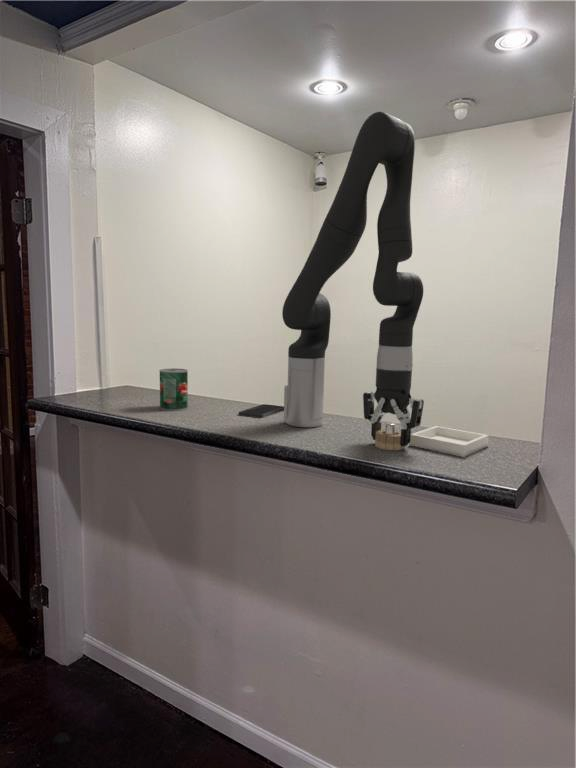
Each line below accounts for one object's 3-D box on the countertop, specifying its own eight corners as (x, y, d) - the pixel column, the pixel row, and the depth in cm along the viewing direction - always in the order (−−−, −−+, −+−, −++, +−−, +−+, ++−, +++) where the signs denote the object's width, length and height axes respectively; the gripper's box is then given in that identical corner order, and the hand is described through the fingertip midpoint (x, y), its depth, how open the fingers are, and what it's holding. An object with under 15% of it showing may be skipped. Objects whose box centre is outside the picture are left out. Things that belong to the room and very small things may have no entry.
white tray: (409, 445, 119) (409, 434, 119) (435, 436, 128) (436, 425, 128) (463, 457, 111) (464, 445, 110) (487, 446, 120) (488, 435, 120)
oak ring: (369, 446, 118) (370, 432, 117) (385, 441, 123) (385, 428, 122) (395, 451, 114) (395, 437, 113) (410, 446, 118) (411, 433, 118)
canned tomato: (190, 410, 153) (190, 371, 151) (162, 411, 150) (161, 372, 148) (185, 404, 160) (184, 368, 158) (157, 406, 157) (157, 368, 155)
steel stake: (382, 446, 118) (384, 423, 117) (388, 444, 120) (389, 422, 119) (391, 448, 117) (392, 425, 116) (396, 446, 118) (398, 423, 118)
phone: (287, 406, 157) (261, 415, 144) (287, 410, 157) (261, 419, 144) (263, 404, 160) (236, 412, 147) (263, 407, 161) (236, 416, 147)
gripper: (356, 364, 118) (353, 439, 120) (415, 371, 108) (411, 452, 111) (375, 362, 123) (371, 434, 126) (433, 368, 114) (428, 445, 116)
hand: (390, 442), depth 118 cm, fingers closed on oak ring, 6 cm apart
